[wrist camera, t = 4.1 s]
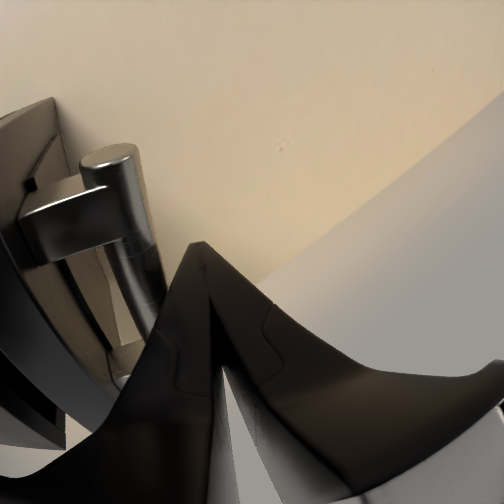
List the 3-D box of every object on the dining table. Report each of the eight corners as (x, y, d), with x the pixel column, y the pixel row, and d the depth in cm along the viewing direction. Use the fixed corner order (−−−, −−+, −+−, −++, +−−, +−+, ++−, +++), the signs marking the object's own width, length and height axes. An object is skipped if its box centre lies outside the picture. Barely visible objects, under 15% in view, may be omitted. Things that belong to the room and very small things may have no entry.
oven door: (114, 78, 9) (139, 88, 3) (153, 269, 16) (214, 412, 9) (19, 109, 8) (-95, 192, 2) (83, 292, 14) (110, 446, 8)
